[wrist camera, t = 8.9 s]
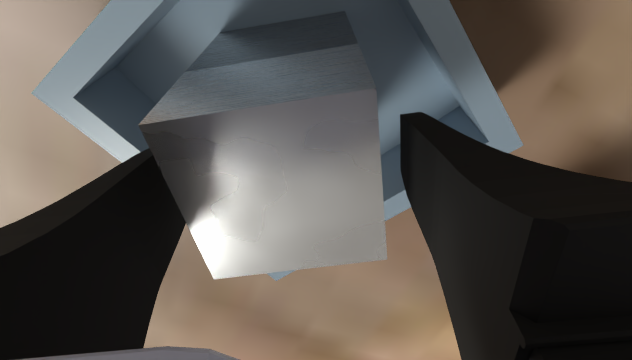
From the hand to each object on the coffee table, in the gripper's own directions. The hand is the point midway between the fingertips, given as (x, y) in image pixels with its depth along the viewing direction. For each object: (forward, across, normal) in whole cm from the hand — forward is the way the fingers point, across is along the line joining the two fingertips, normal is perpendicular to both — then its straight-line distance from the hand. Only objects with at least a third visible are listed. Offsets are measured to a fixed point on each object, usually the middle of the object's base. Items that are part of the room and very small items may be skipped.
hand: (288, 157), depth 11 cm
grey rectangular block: (+6, 0, 0) cm, 6 cm away
